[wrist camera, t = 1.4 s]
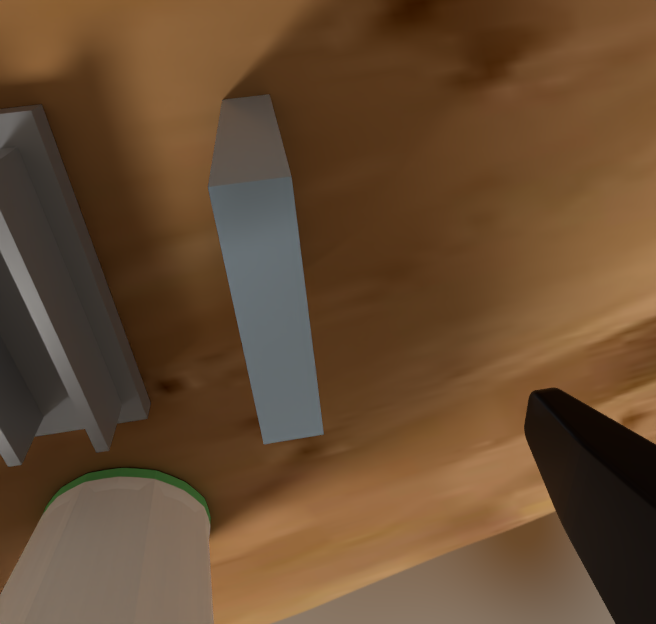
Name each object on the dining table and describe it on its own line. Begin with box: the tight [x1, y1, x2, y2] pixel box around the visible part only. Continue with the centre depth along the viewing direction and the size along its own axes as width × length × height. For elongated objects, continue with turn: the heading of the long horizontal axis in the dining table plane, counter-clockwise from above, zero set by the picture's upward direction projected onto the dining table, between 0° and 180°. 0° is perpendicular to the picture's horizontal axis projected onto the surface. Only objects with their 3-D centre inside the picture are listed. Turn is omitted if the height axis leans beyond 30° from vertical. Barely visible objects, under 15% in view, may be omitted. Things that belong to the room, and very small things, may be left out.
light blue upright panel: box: [208, 94, 324, 444], centre depth 16 cm, size 7×2×9 cm, turn 5°
